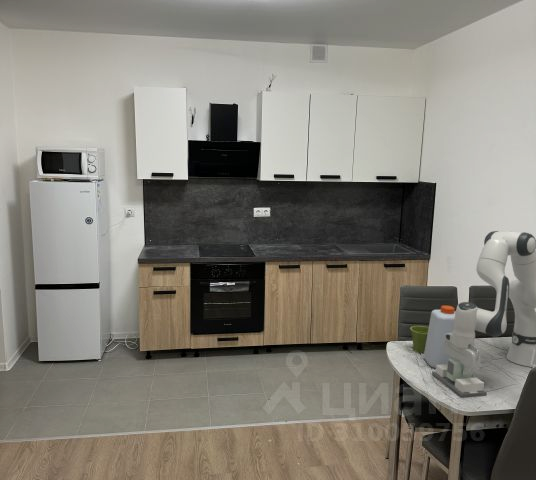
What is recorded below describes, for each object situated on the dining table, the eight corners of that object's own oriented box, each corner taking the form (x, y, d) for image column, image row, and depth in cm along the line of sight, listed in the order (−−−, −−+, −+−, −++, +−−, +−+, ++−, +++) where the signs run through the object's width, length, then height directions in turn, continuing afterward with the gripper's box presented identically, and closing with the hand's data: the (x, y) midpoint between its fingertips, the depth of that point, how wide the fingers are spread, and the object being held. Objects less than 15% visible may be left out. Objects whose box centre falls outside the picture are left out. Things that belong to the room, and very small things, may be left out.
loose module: (464, 374, 208) (466, 357, 206) (471, 379, 203) (473, 362, 202) (445, 376, 205) (447, 359, 204) (452, 381, 201) (454, 363, 200)
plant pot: (430, 347, 246) (432, 326, 244) (434, 356, 235) (437, 334, 233) (406, 345, 248) (408, 324, 246) (410, 354, 236) (412, 332, 234)
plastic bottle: (431, 369, 219) (437, 311, 214) (421, 356, 234) (426, 301, 229) (463, 371, 219) (470, 312, 214) (451, 357, 234) (457, 303, 229)
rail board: (455, 373, 216) (456, 362, 216) (486, 395, 196) (487, 383, 195) (431, 374, 214) (433, 364, 213) (461, 397, 193) (462, 385, 193)
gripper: (486, 349, 192) (482, 381, 195) (455, 331, 212) (451, 360, 214) (472, 350, 191) (468, 382, 193) (442, 332, 210) (439, 361, 213)
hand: (459, 371), depth 204 cm, fingers closed on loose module, 4 cm apart
